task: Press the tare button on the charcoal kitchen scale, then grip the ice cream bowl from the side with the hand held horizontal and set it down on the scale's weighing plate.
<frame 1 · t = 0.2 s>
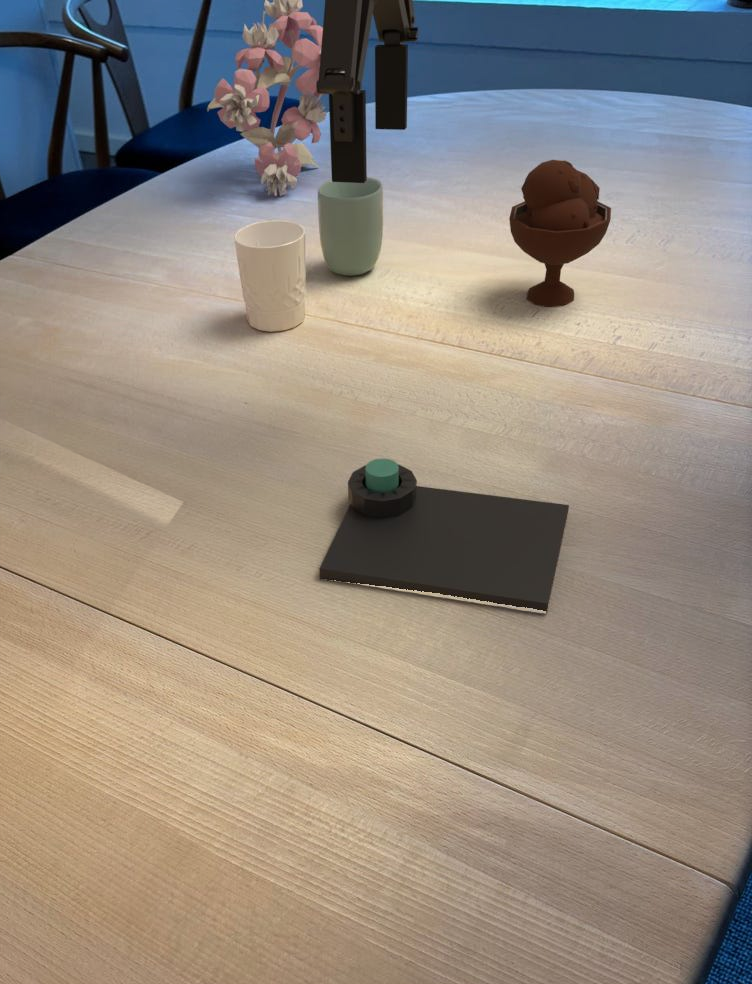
hand: (371, 153, 83), 24 cm above the table, tool pointing down, fingers open, 13 cm apart
tare button: (382, 476, 83), point 3 cm above the table, slide at 0.1 cm
cup: (352, 271, 124), on the table
flower: (285, 183, 149), on the table
white cup: (276, 321, 115), on the table
scale: (446, 547, 81), on the table
ice cream bowl: (550, 298, 114), on the table
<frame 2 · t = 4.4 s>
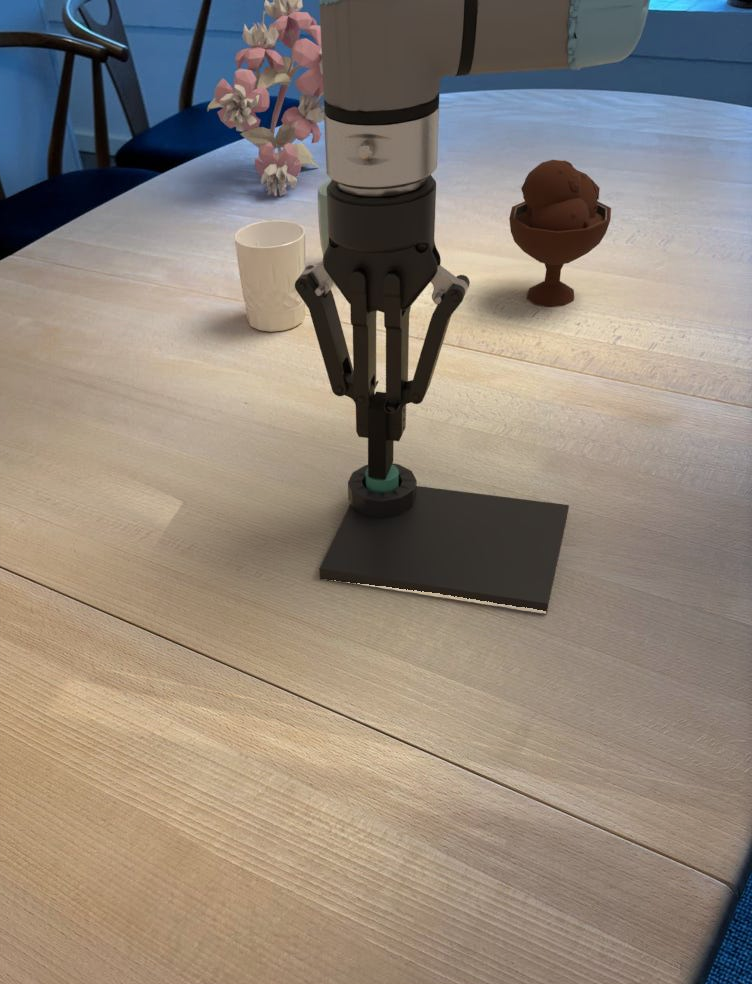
hand: (380, 469, 83), 4 cm above the table, tool pointing down, fingers closed
tare button: (382, 480, 84), point 3 cm above the table, slide at -0.3 cm, touching gripper
everything else where it was.
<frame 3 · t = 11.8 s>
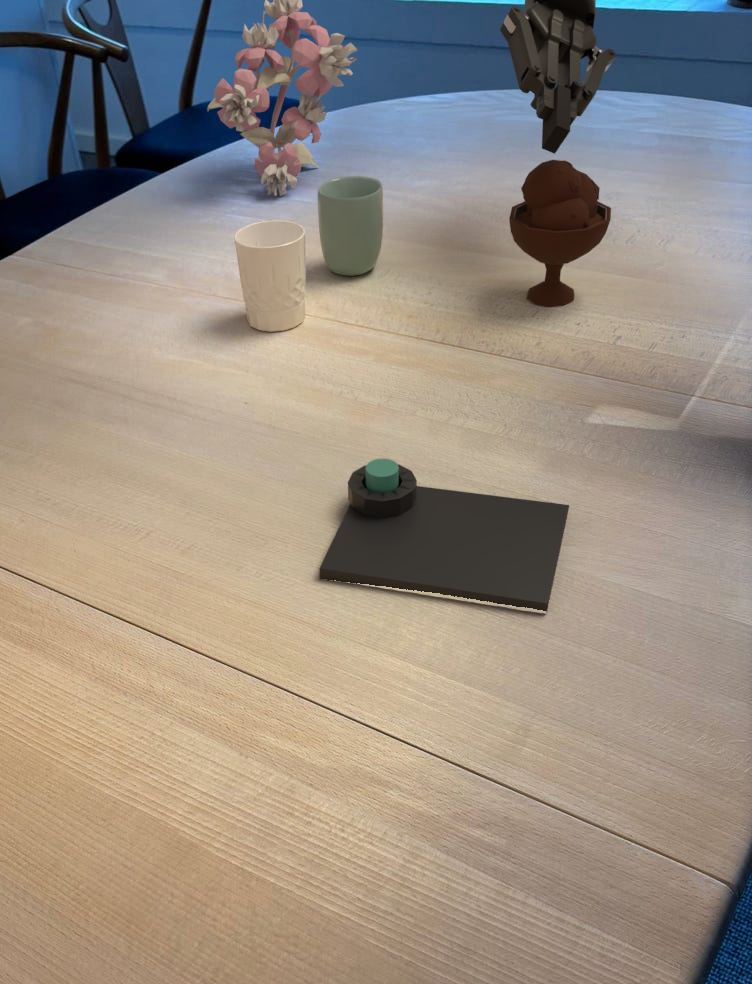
hand: (555, 139, 97), 19 cm above the table, tool tilted 70°, fingers closed
tare button: (382, 476, 83), point 3 cm above the table, slide at 0.1 cm
everything else where it was.
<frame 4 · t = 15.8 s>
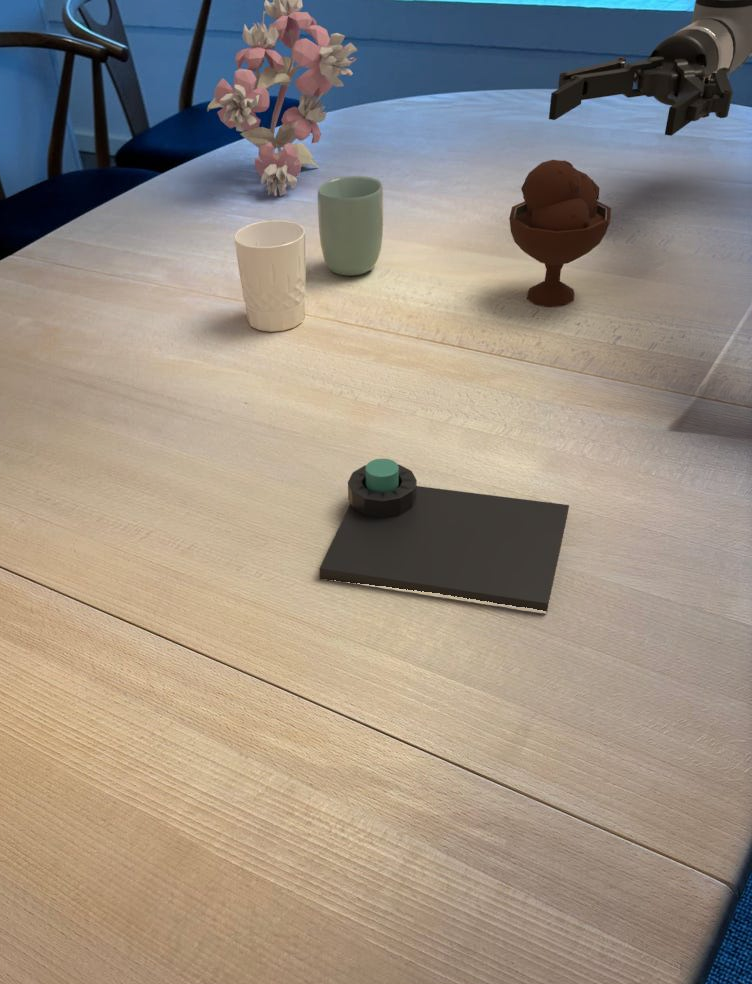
hand: (609, 114, 107), 17 cm above the table, tool horizontal, fingers open, 13 cm apart
nothing on the table moved.
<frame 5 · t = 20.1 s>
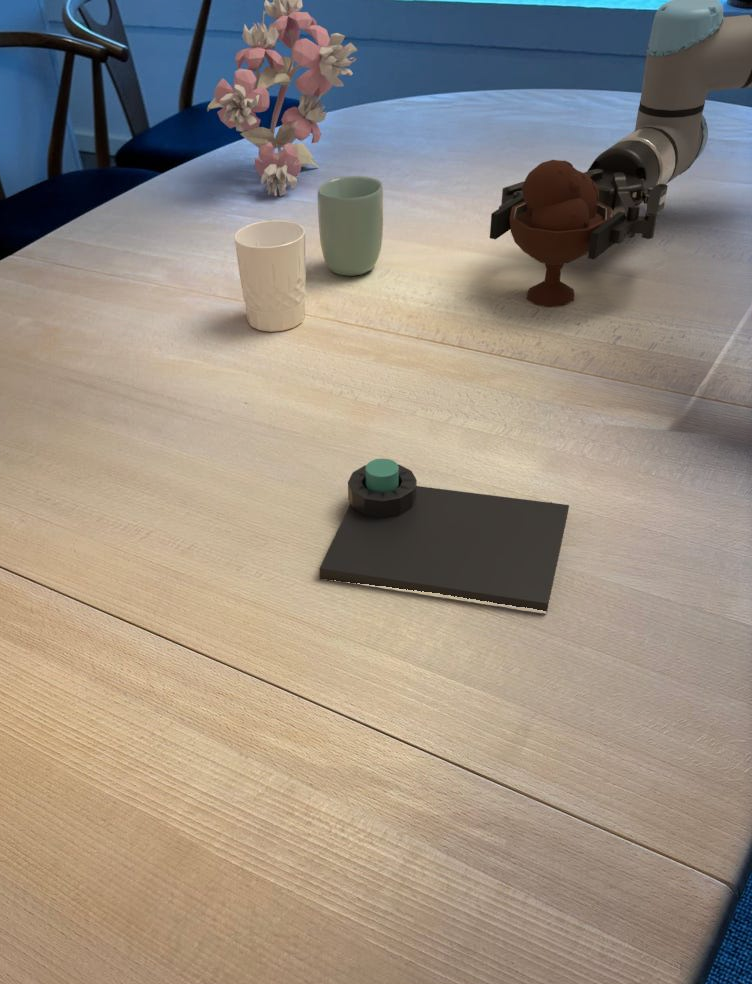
hand: (541, 236, 106), 8 cm above the table, tool horizontal, fingers closed on ice cream bowl, 11 cm apart
ice cream bowl: (550, 298, 114), on the table, touching gripper
everything else where it was.
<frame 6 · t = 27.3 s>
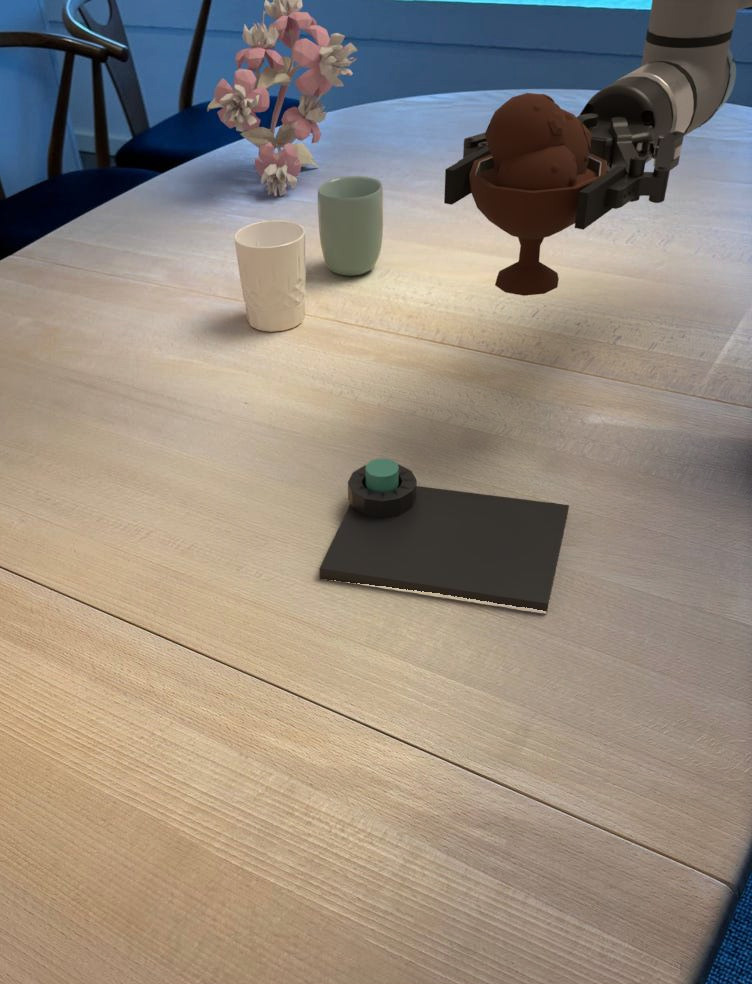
hand: (512, 198, 78), 22 cm above the table, tool horizontal, fingers closed on ice cream bowl, 11 cm apart
ice cream bowl: (526, 284, 86), point 13 cm above the table, touching gripper
everything else where it was.
when the fingers open (9 cm above the table, at t = 34.9 s): ice cream bowl stays where it is, resting on scale.
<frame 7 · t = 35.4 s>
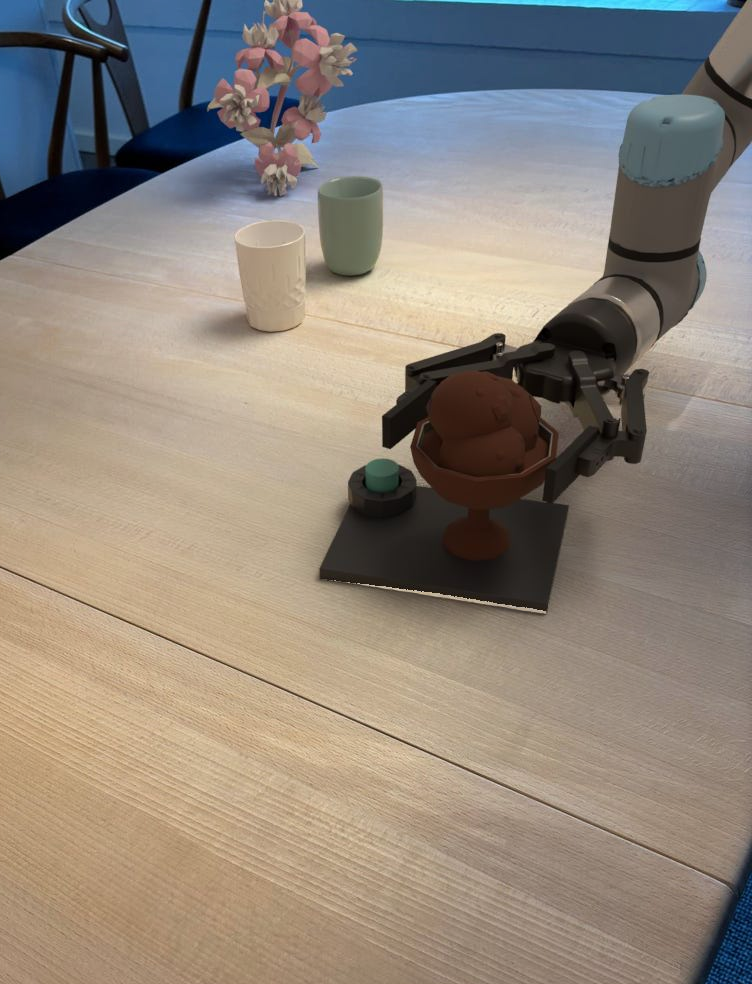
hand: (463, 458, 71), 11 cm above the table, tool horizontal, fingers open, 13 cm apart
ice cream bowl: (476, 541, 80), point 1 cm above the table, touching scale
everything else where it was.
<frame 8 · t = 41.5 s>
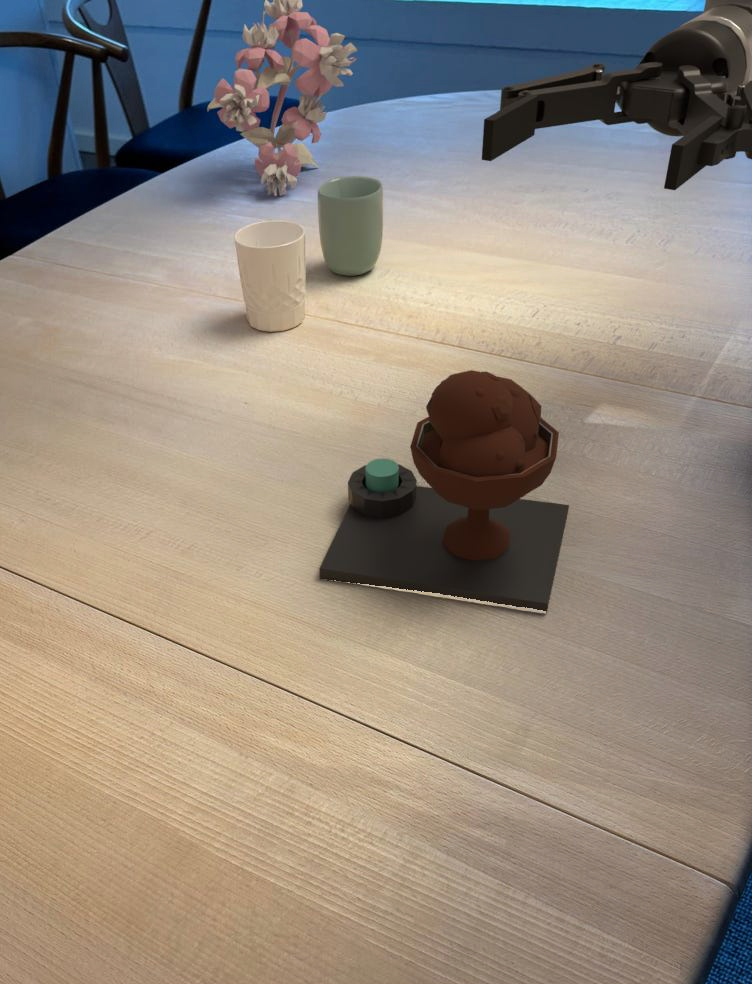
hand: (575, 153, 67), 28 cm above the table, tool horizontal, fingers open, 13 cm apart
nothing on the table moved.
at the end: tare button pushed in 1.0 cm at the most during the clip, back to where it started at the end; ice cream bowl inside the target area on the scale (0.1 cm from its centre), point 1.0 cm above the scale's base; ice cream bowl touching scale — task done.
